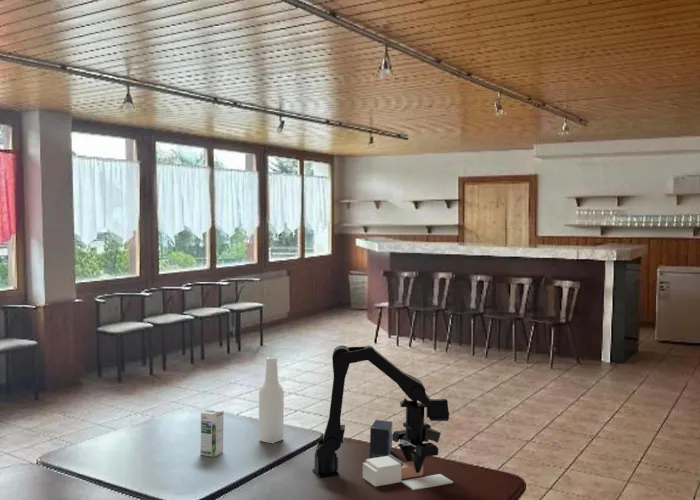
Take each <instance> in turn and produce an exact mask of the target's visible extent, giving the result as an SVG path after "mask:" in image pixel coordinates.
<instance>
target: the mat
mask: <svg viewBox="0 0 700 500" xmlns="http://www.w3.org/2000/svg"><path fill="white" fill-rule="evenodd" d="M400 483H402V484H404V486H406V487H408V488H410V490H412V491H417V490H421V489H427V488H433V487H438V486H443V485H444V486H445V485H449V484H453V483H454V481H453V480H451V479H450V478H448V477H446V476H444V475H443V474H441V473H438V474H433V475H432V474H430V475H426V476H418V477H413V478H407V479H401V482H400Z"/></svg>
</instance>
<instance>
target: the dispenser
mask: <svg viewBox="0 0 700 500" xmlns="http://www.w3.org/2000/svg"><path fill="white" fill-rule="evenodd" d="M403 462H404V461H402V460H400V459H399V458H397V457H395V455H393V454H391V453H390V454H389V455H388V456H384V457H377V458H371V459H369V458H367V459H365V462H362V478H363V479H364V480H365V481H367V482H368V483H369V484H370V485H372V486H373V487H379V486H386V485H392V484H396V483H397V484H398V483H402V482H401V481H402V479H401V467H402V466H403Z"/></svg>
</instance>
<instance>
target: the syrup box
mask: <svg viewBox="0 0 700 500" xmlns="http://www.w3.org/2000/svg"><path fill="white" fill-rule="evenodd" d="M224 418H225V417H224V410H218V409H213V408H209V409H205V410H203V411H202V412H201V413H200V453H199V455H200V456H206V457H207V456H208V457H212V458H215V457H217V456H219V455H220V454H223V453H224Z"/></svg>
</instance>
